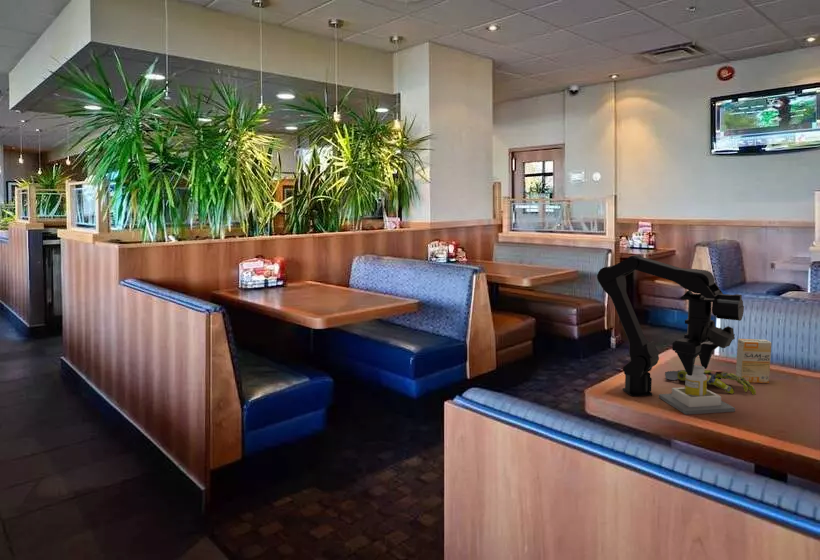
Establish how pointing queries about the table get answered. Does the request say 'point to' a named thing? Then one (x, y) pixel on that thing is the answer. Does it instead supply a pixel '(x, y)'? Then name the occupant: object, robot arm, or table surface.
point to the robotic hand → (714, 379)
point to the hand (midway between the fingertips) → (697, 371)
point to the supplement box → (753, 360)
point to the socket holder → (696, 402)
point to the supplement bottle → (696, 382)
